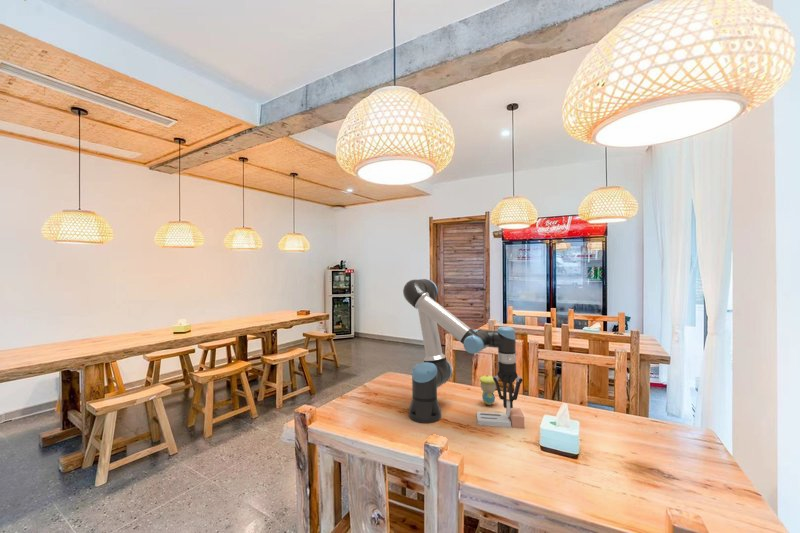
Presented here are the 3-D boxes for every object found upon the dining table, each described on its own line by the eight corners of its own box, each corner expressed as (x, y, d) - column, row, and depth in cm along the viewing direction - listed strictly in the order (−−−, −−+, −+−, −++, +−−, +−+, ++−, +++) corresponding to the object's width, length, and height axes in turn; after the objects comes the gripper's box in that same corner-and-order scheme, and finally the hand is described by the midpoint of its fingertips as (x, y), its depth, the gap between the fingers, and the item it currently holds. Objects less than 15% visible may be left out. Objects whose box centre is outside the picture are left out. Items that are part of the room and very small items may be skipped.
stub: (512, 427, 138) (512, 415, 138) (508, 418, 147) (508, 407, 147) (524, 428, 137) (524, 416, 137) (520, 419, 146) (520, 407, 146)
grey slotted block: (478, 425, 140) (477, 420, 140) (476, 416, 149) (476, 411, 149) (511, 427, 138) (511, 422, 138) (507, 418, 147) (507, 413, 147)
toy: (499, 407, 158) (499, 377, 159) (481, 407, 158) (481, 377, 159) (495, 401, 166) (495, 372, 166) (478, 401, 166) (477, 372, 167)
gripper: (493, 363, 140) (494, 417, 140) (524, 364, 138) (525, 419, 137) (491, 359, 148) (492, 410, 147) (520, 360, 146) (521, 412, 145)
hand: (508, 414), depth 142 cm, fingers closed
